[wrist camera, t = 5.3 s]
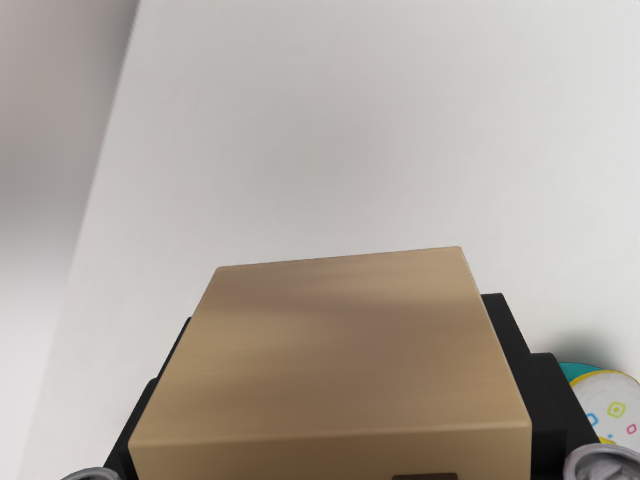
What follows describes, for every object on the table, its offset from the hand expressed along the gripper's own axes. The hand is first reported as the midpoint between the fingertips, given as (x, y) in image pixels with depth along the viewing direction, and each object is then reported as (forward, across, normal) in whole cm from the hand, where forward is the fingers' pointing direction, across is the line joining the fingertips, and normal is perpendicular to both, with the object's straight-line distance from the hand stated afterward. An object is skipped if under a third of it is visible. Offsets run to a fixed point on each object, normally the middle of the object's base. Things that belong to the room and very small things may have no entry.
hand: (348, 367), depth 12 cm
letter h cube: (0, 0, 0) cm, 0 cm away
